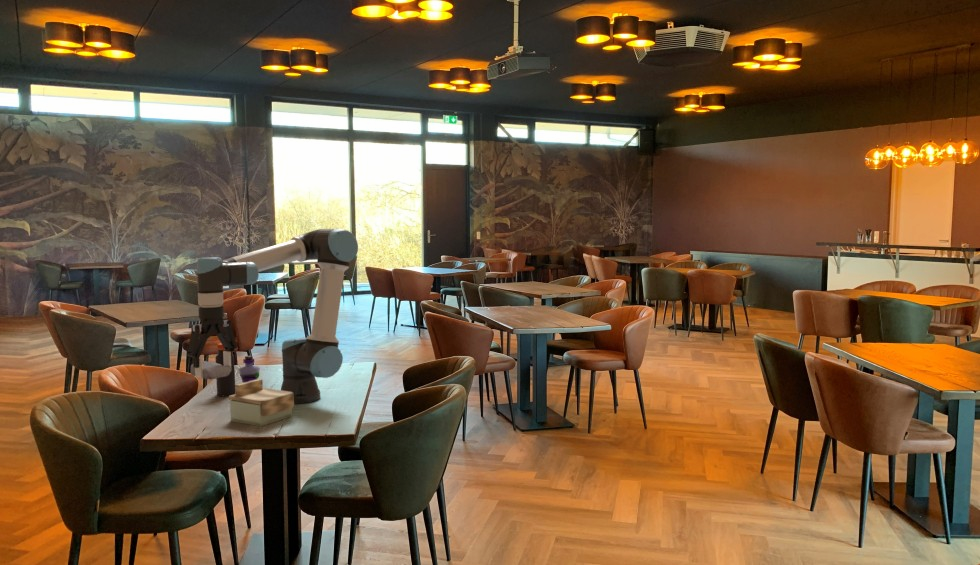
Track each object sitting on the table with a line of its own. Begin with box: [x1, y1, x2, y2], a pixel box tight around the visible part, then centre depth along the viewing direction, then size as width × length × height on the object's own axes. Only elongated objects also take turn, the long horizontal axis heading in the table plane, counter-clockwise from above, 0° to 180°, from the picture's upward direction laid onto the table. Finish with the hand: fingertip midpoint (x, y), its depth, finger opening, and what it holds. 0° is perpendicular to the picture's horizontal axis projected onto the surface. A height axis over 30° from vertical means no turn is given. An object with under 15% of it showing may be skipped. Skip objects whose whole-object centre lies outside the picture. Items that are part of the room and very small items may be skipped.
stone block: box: [190, 360, 231, 380], centre depth 230 cm, size 12×5×10 cm
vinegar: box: [215, 342, 236, 397], centre depth 277 cm, size 7×7×20 cm
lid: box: [228, 378, 295, 416], centre depth 242 cm, size 14×16×8 cm
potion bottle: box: [238, 355, 261, 383], centre depth 294 cm, size 9×9×12 cm
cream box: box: [229, 400, 293, 427], centre depth 243 cm, size 14×14×7 cm
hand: (213, 374), depth 230 cm, fingers closed on stone block, 10 cm apart
